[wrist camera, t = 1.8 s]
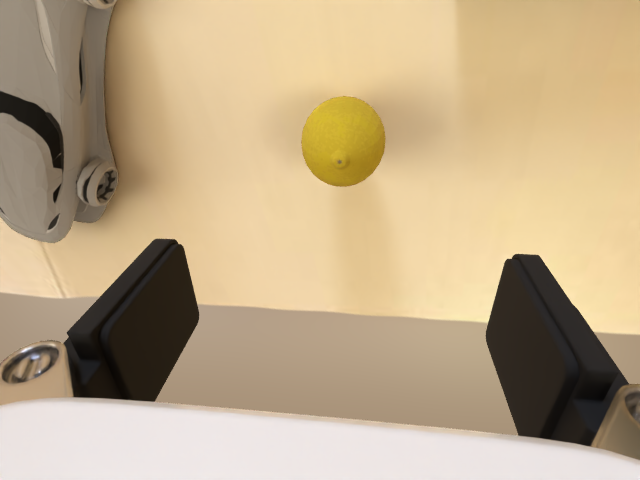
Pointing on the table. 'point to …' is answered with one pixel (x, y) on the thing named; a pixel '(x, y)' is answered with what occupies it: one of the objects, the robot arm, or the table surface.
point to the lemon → (343, 141)
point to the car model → (53, 116)
